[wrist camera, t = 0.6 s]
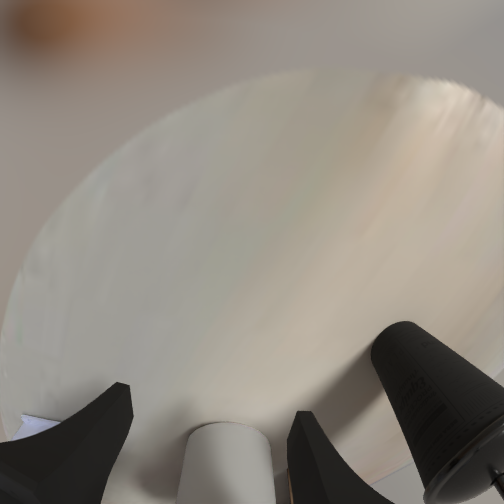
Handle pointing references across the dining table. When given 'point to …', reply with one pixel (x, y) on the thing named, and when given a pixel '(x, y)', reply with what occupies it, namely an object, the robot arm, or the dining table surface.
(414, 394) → the drinking cup
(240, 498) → the can
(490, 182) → the dining table surface
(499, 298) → the dining table surface
